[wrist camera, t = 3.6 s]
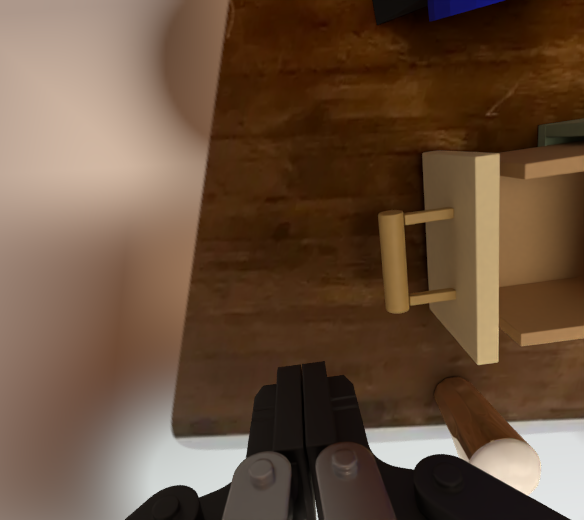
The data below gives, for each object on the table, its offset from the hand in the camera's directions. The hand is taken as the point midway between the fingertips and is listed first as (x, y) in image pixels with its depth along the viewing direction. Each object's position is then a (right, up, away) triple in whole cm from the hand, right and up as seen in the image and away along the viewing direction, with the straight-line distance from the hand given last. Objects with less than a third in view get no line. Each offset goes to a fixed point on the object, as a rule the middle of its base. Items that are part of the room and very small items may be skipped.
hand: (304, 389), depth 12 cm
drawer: (+14, +6, +15) cm, 21 cm away
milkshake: (+13, -7, +20) cm, 25 cm away
